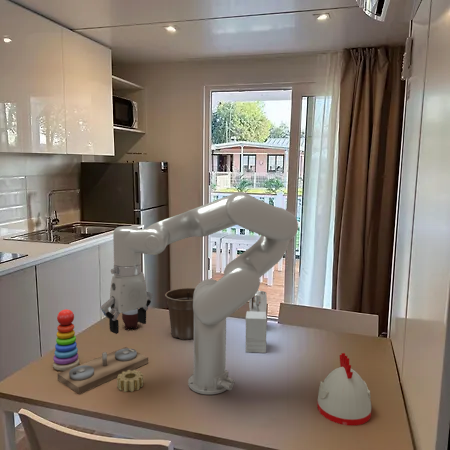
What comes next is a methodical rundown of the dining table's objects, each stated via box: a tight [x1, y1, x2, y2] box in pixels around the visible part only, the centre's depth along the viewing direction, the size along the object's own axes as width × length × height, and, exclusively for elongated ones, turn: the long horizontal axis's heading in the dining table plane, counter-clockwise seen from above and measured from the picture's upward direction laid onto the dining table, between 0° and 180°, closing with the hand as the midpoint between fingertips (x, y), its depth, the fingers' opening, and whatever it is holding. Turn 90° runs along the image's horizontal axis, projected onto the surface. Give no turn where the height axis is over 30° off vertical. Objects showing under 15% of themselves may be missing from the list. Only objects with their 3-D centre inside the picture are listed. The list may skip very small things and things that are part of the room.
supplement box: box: [245, 310, 268, 354], centre depth 147 cm, size 7×7×13 cm
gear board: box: [57, 346, 149, 395], centre depth 129 cm, size 12×25×6 cm, turn 140°
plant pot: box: [164, 287, 196, 340], centre depth 159 cm, size 16×16×16 cm
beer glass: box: [248, 290, 268, 313], centre depth 164 cm, size 7×7×15 cm
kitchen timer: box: [316, 352, 372, 426], centre depth 110 cm, size 14×14×15 cm
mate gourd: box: [121, 308, 139, 331], centre depth 164 cm, size 8×8×15 cm
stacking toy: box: [52, 308, 80, 372], centre depth 132 cm, size 8×8×19 cm
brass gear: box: [116, 369, 144, 393], centre depth 121 cm, size 7×7×3 cm
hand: (128, 327), depth 119 cm, fingers open, 9 cm apart
